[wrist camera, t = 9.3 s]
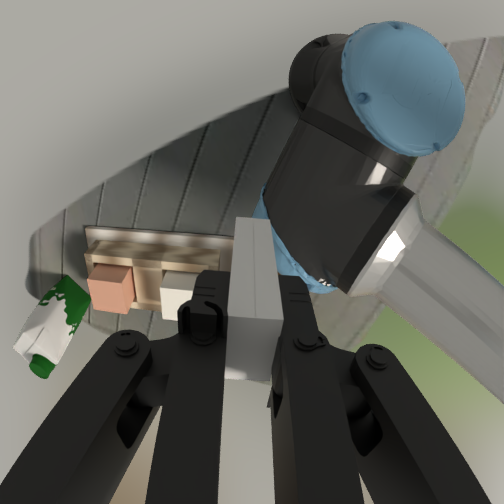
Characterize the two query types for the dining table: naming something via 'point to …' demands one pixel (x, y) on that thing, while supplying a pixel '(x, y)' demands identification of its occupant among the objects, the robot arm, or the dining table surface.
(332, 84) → the robot arm
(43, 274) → the dining table surface
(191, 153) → the dining table surface
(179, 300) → the white block
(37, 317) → the milk carton
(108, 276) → the salmon pink block
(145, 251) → the housing
